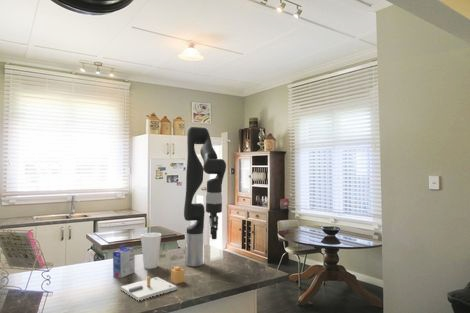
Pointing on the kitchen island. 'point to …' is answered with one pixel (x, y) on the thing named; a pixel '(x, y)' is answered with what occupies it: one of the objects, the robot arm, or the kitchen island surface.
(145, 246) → the cup
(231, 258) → the kitchen island surface
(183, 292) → the kitchen island surface
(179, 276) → the cube with dome knob
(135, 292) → the plate
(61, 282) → the kitchen island surface
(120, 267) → the ink cartridge box
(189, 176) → the robot arm
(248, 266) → the kitchen island surface
